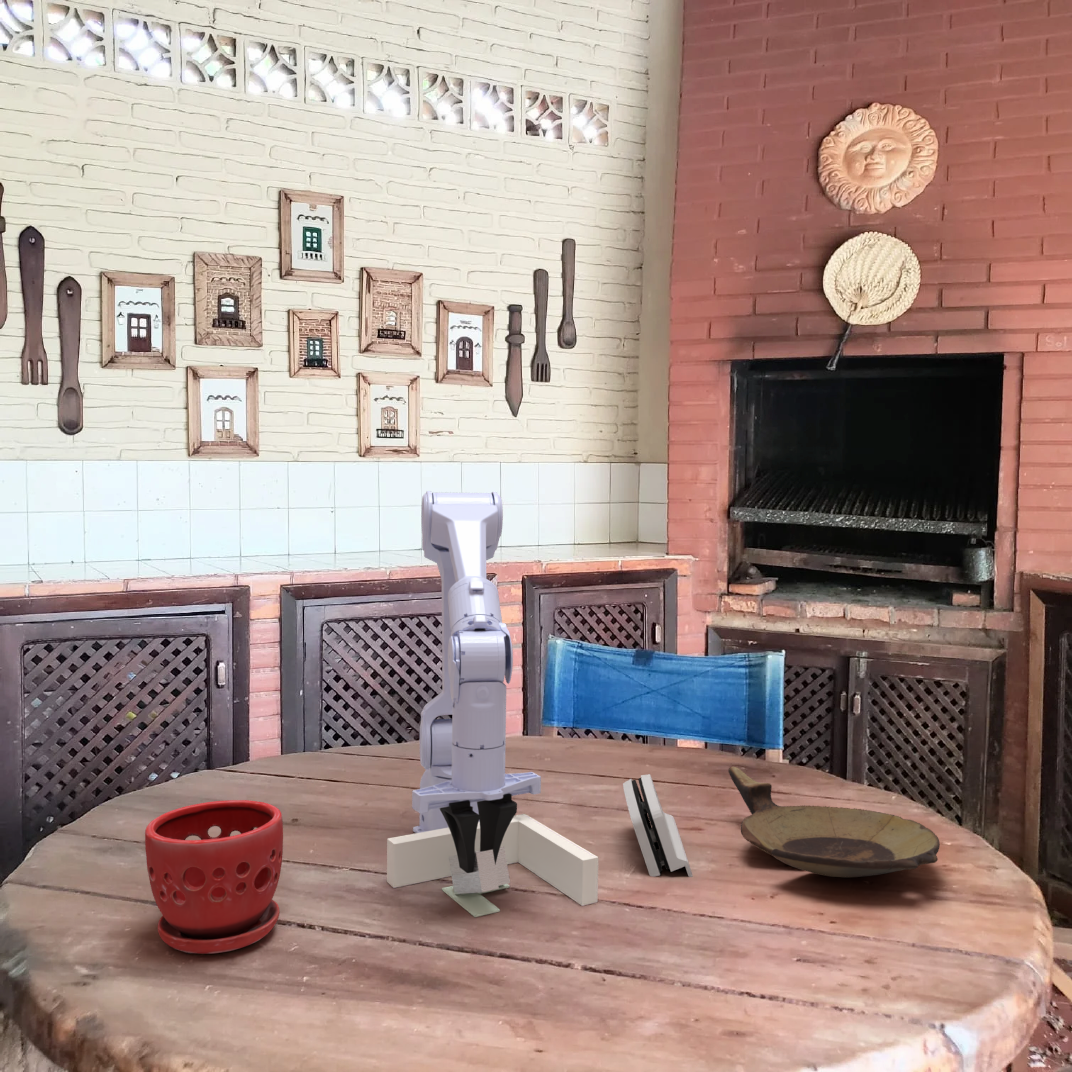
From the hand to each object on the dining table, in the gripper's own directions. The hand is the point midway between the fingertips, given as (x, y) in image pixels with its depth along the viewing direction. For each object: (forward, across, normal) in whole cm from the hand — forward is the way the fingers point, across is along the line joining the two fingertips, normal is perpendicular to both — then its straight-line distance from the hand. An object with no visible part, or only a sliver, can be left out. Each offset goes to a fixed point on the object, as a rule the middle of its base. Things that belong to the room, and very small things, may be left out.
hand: (477, 867), depth 109 cm
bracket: (+3, +2, 0) cm, 3 cm away
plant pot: (+4, -26, +7) cm, 27 cm away
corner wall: (+4, +3, +3) cm, 6 cm away
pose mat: (+4, +2, +2) cm, 5 cm away
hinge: (+5, +27, +4) cm, 27 cm away
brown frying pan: (+5, +44, -8) cm, 45 cm away
